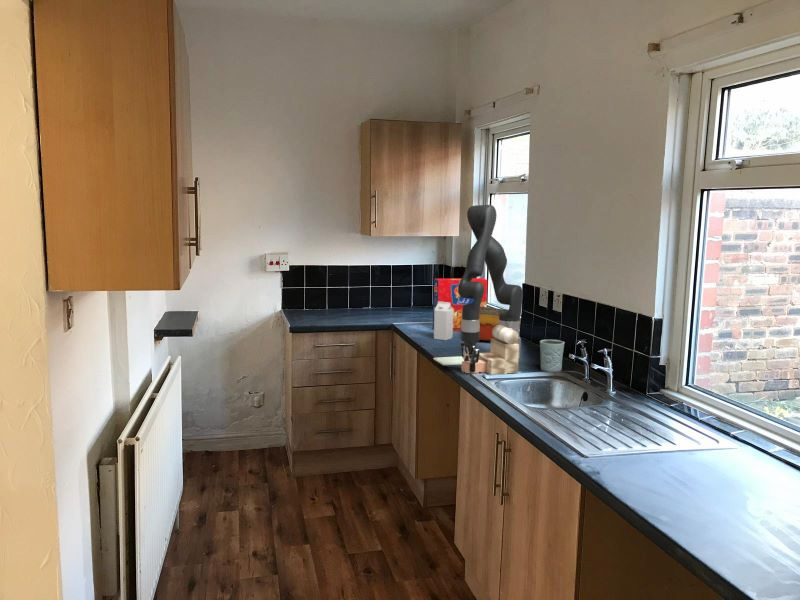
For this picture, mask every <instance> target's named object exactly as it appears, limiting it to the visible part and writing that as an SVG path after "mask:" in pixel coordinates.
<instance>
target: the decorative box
mask: <svg viewBox="0 0 800 600" xmlns="http://www.w3.org/2000/svg"><path fill="white" fill-rule="evenodd" d="M508 310H509V309H503V308H495V307H494V308H493V307H487V306H486V307H480V310H479V322H480V336H479V341H482V342H483V341H484V342H487V343H491V339H494V337H493V335H492V330H493V328H494V327H495V326H496V325H499V314H500V313H502V312H506V311H508Z"/></svg>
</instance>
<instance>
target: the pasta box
mask: <svg viewBox="0 0 800 600" xmlns="http://www.w3.org/2000/svg"><path fill="white" fill-rule="evenodd" d="M461 279H462V277H461V278H460V277H458V278H456V277H455V278H448V277H447V278H433V303H432V304H433V306H432V330H433V331H434V314H435V308H436V306H437V304H438V301H440V302H449V303H450V305H451V307H452V308H453V332H461V323H462V307H463V305H465V304H471V303H473V301H474V299H471V298H462V297H460V296H459V293H458V286H459V284H460V281H461ZM471 281H476V282H481V283H482V284H483V285H484V295H483V298H482V301H481V305H480V307H486V308H487V303H488V300H487V299H488V279H486V278H482V277H475V278H472V280H471Z"/></svg>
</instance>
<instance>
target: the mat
mask: <svg viewBox="0 0 800 600" xmlns="http://www.w3.org/2000/svg"><path fill="white" fill-rule="evenodd" d="M433 360H434V361H435V362H437V363H439V364H440V365H442V366H452V365H453V366H455V365H457V366H458V365H462V361H464V359H463V357H462V355H460V356H442V357H433Z"/></svg>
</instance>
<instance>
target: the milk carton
mask: <svg viewBox="0 0 800 600" xmlns="http://www.w3.org/2000/svg"><path fill="white" fill-rule="evenodd" d="M453 332H454V331H453V308H452V307H451V305H450V303H449V302H440V301H438V304H437V306H436V308H435V314H434V330H433V339H434V340H439V341H441V340H442V341H447V340H451V339H453Z"/></svg>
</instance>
